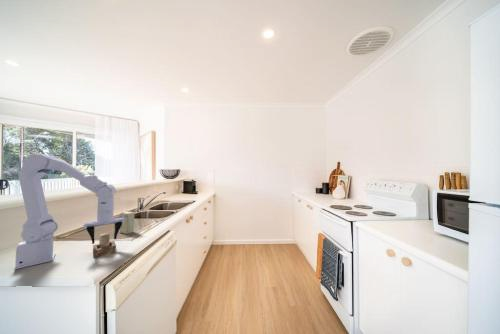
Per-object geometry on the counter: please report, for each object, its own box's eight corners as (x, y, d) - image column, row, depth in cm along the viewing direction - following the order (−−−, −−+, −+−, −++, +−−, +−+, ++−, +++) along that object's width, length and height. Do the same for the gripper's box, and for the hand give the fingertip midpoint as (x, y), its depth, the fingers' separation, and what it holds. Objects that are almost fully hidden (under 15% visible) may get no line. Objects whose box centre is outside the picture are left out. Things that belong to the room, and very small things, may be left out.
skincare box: (119, 233, 103) (120, 212, 104) (126, 230, 107) (127, 211, 108) (127, 234, 101) (127, 213, 102) (134, 231, 106) (134, 211, 106)
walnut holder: (93, 257, 73) (93, 250, 74) (92, 251, 79) (93, 245, 79) (115, 252, 79) (115, 245, 79) (113, 246, 84) (114, 240, 84)
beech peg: (99, 254, 76) (100, 236, 77) (98, 252, 79) (99, 234, 79) (109, 251, 79) (110, 234, 79) (108, 249, 81) (109, 232, 82)
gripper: (83, 215, 71) (82, 248, 71) (126, 210, 82) (125, 239, 81) (83, 212, 77) (82, 243, 76) (123, 208, 87) (122, 235, 86)
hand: (104, 240), depth 79 cm, fingers open, 7 cm apart
